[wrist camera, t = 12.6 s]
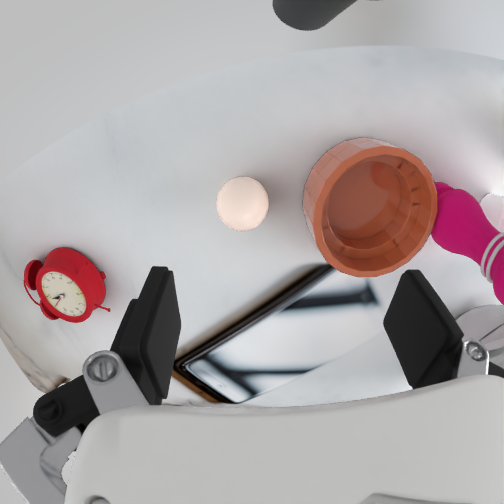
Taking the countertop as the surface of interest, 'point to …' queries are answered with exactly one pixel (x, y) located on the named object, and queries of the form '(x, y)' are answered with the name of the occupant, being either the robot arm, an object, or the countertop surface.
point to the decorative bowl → (486, 329)
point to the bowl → (369, 206)
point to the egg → (242, 203)
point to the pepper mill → (469, 233)
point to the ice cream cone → (494, 210)
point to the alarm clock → (66, 285)
